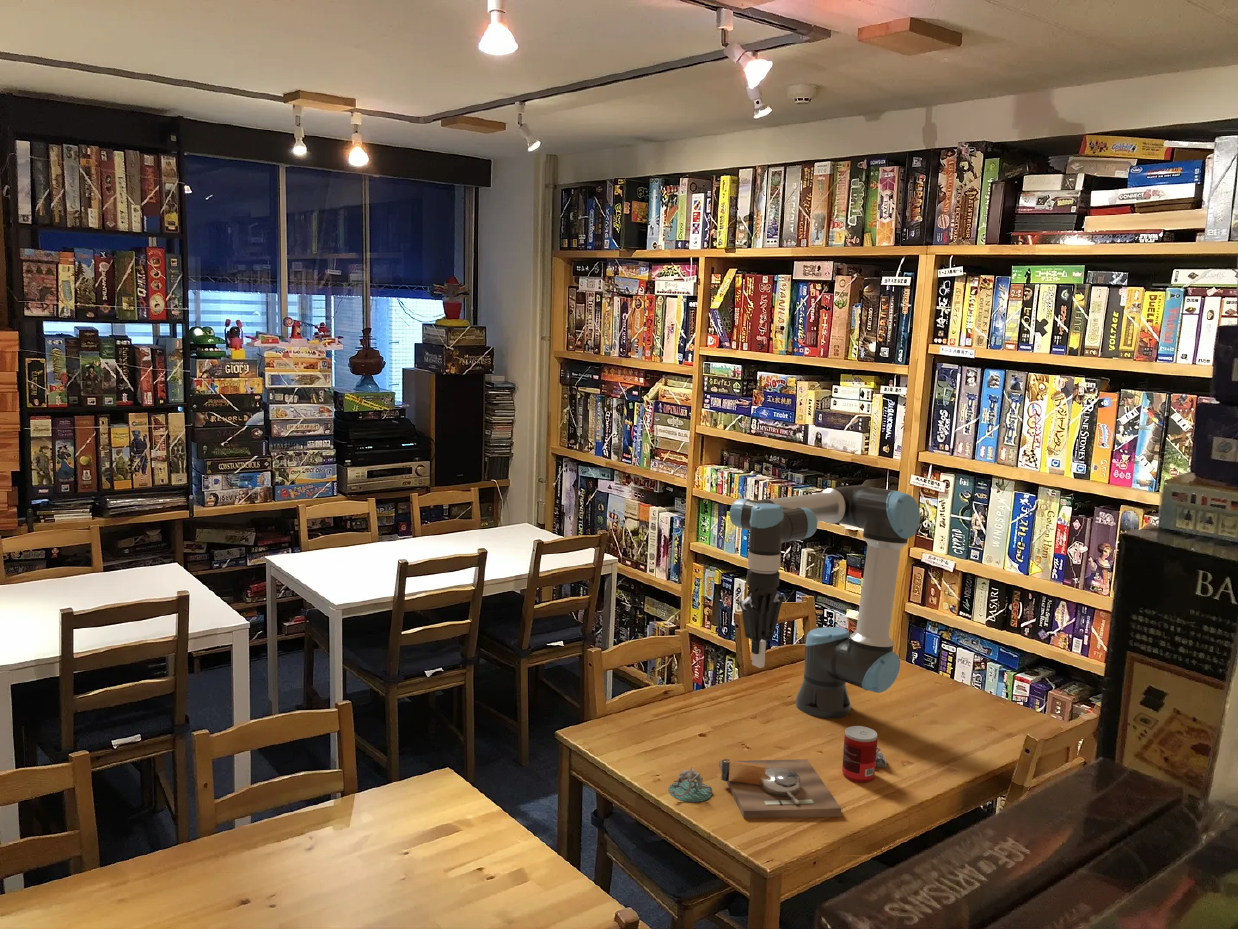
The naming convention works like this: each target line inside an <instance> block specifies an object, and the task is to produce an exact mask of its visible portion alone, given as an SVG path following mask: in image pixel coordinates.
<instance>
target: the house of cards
mask: <svg viewBox="0 0 1238 929" xmlns="http://www.w3.org/2000/svg"><path fill="white" fill-rule="evenodd" d="M887 763H888V761H887V758H886V756H885V754H884V753H883V751H882V749H881V747H878V746H877V752H876V764H875V767H878V768H883V769H886V766H887Z"/></svg>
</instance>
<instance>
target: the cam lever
mask: <svg viewBox="0 0 1238 929" xmlns="http://www.w3.org/2000/svg"><path fill="white" fill-rule="evenodd" d="M721 761H722V772H721V777H720V778H721V779H720V780H722V781H724V782H726V781H734V782H741V783H749V784H756V785H760V787H761V789H762V790H763V791H764V792H766V793H768V794H770V795H774V796H778V797H789V798H790V799H791V800H792V801H793V802H794V803H795V804H799V801H798V800H797V799H796V798H795V797H794V795H796V794H798V793H799V791H800V780H801V779H800V776H799V775H798V774H796V773H795V772H793V771H790V770H787V769H782V768H770V769H766V765H760V764H753V763H745V762H737V761H738V760H730V759H727V758H725V759H722V760H721Z"/></svg>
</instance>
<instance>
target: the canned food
mask: <svg viewBox="0 0 1238 929" xmlns="http://www.w3.org/2000/svg"><path fill="white" fill-rule="evenodd" d="M843 738H844V739H843V754H842V768H841V771H842V775H843V776H844V777H845V779H847V780H849V781H851V782H855V783H868V782H871V781H873V779H874V777H875V774H876V766H875V764H876V752H877V751H878V750H877V747H878V733H877V731H876V730H874V729H873V728H870V727H866V726H863V725H853V726H849V727H847V728H845V732H844V737H843Z"/></svg>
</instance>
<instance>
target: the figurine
mask: <svg viewBox="0 0 1238 929" xmlns="http://www.w3.org/2000/svg"><path fill="white" fill-rule="evenodd" d="M677 778H678V780H673V782H674V783H671V784H670V785H669V786H668V793H669V795H670V796H671V797H673V798H674V799H676V800H678V801H680V802H684V803H691V804H696V803H697V804H698V803H704V802H706V801H708V800H710V799H711V798H712V796H713V788H712V786H711V785H706V784H704V783H703V782H704V781H703V780H704V779H703V777H701V772H697V771H696V770H695V769H694V768H693V767H692V766H691V767H690V770H688V769H684V770H683V771H682V772H680V773H679V774H678V777H677ZM695 780H696V781H695Z"/></svg>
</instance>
